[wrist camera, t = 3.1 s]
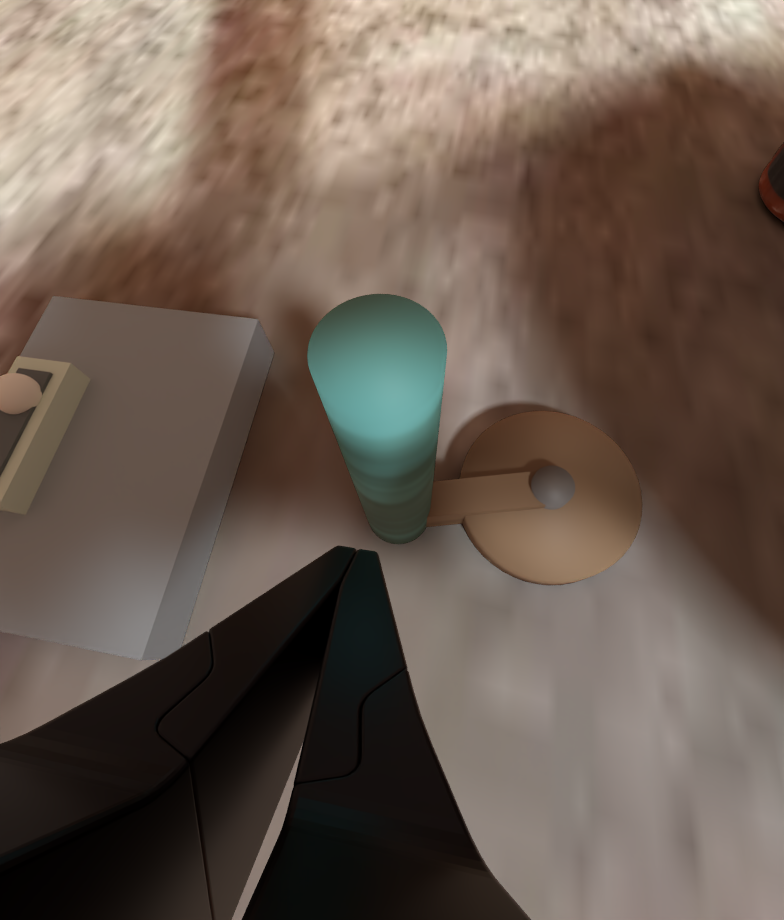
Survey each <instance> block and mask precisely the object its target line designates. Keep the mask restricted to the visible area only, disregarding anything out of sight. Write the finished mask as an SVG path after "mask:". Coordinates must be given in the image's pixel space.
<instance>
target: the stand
mask: <svg viewBox="0 0 784 920" xmlns="http://www.w3.org/2000/svg"><path fill="white" fill-rule="evenodd" d="M273 355H274V351H273V349H272V347H271V345H270V343H269V340H268V338H267V336H266V334H265V332H264V330H263V328H262V326H261V324H260V322H259V320H258V319H253V318H244V317H235V316H226V315H217V314H209V313H200V312H191V311H182V310H174V309H165V308H156V307H147V306H138V305H130V304H121V303H112V302H103V301H94V300H86V299H77V298H68V297H59V296H53V297H52V299H51V301H50V302H49V304H48V306H47V308H46V310H45V311H44V313H43V315H42V317H41V319H40V320H39V322H38V324H37V326H36V328H35V329H34V331H33V333H32V335H31V337H30V338H29V340H28V342H27V344H26V346H25V347H24V349H23V351H22V353H21V355H20V356H17V357H16V359H15V361H14V363H13V364H12V366H11V368H10V370H9V372H8V373H7V374H4V375H2V376H0V632H5V633H10V634H15V635H20V636H25V637H29V638H34V639H39V640H44V641H49V642H54V643H59V644H64V645H69V646H73V647H78V648H83V649H88V650H93V651H98V652H103V653H108V654H113V655H117V656H122V657H127V658H132V659H137V660H155V659H163V658H165V657H167V656H168V655H170V654H171V653H173V652H175V651H176V650H178V649H179V648H181V646H182V643H183V639H184V636H185V633H186V630H187V627H188V624H189V620H190V617H191V614H192V611H193V608H194V605H195V601H196V598H197V595H198V592H199V589H200V586H201V583H202V579H203V576H204V573H205V570H206V567H207V564H208V560H209V557H210V554H211V551H212V548H213V545H214V542H215V538H216V535H217V532H218V529H219V526H220V523H221V519H222V516H223V513H224V510H225V507H226V504H227V500H228V497H229V494H230V491H231V488H232V485H233V482H234V478H235V475H236V472H237V469H238V466H239V463H240V459H241V456H242V453H243V450H244V447H245V444H246V441H247V437H248V434H249V431H250V428H251V425H252V422H253V418H254V415H255V412H256V409H257V406H258V403H259V399H260V396H261V393H262V390H263V387H264V384H265V381H266V377H267V374H268V371H269V368H270V365H271V362H272V358H273Z"/></svg>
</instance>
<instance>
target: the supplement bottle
mask: <svg viewBox="0 0 784 920" xmlns="http://www.w3.org/2000/svg"><path fill="white" fill-rule="evenodd" d="M759 192H760V196H761V198H762V200H763V202H764V204H765V205H766V207H767V208H768V209H769V210H770V211H771V212H772V213H773V214H774V215H775V216H776V217H778V218H779V219H780V220H782V221H783V222H784V143H783V144H782V145H781V147H780V148H779V149H778V150H777V152H776V153H775V155H774V156H773V158H772V160H771V161H770V162H769V164H768V165H767V166H766V168H765V169H764V171H763V173H762V175H761V178H760V181H759Z"/></svg>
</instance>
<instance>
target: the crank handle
mask: <svg viewBox="0 0 784 920" xmlns="http://www.w3.org/2000/svg"><path fill="white" fill-rule="evenodd" d="M446 357H447V343H446V338H445V334H444V332H443V330H442V327H441V326H440V324H439V322H438V321H437V320H436V318H435V317H434V316H433V315H432V314H431V313H430V312H429V311H428V310H427V309H425V308H424V307H423V306H421V305H420V304H418V303H416V302H414V301H412V300H410V299H407V298H404V297H400V296H396V295H390V294H371V295H365V296H360V297H356V298H353V299H351V300H348V301H346V302H344V303H342V304H340V305H338V306H337V307H335V308H334V309H332V310H331V311H330V312H329V313H327V314H326V315H325V316H324V317H323V318H322V320H321V321H320V322H319V323H318V325H317V326H316V328H315V329H314V331H313V333H312V336H311V338H310V341H309V345H308V354H307V358H308V366H309V369H310V373H311V375H312V378H313V380H314V383H315V386H316V388H317V391H318V393H319V396H320V398H321V401H322V404H323V406H324V409H325V411H326V414H327V416H328V419H329V422H330V424H331V427H332V429H333V432H334V434H335V437H336V440H337V442H338V445H339V447H340V450H341V452H342V455H343V458H344V460H345V463H346V465H347V468H348V471H349V473H350V476H351V478H352V481H353V483H354V486H355V489H356V491H357V494H358V496H359V499H360V501H361V504H362V507H363V509H364V512H365V514H366V517H367V519H368V522H369V524H370V527H371V529H372V530H373V532H374V533H375V534H376V535H377V536H378V537H379V538H381V539H382V540H384V541H386V542H389V543H393V544H404V543H408V542H411V541H413V540H415V539H416V538H418V537H419V536H420V535H421V534H422V533H423V532H424V530H425V529H426V527H431V526H441V525H452V524H463V526H464V529H465V531H466V533H467V535H468V537H469V538H470V540H471V541H472V543H473V544H474V546H475V547H476V548H477V550H478V551H479V552H480V553H481V554H482V555H483V556H484V557H485V558H486V559H487V560H488V561H489V562H490V563H492V564H493V565H494V566H496V567H497V568H499V569H500V570H501V571H503V572H505V573H507V574H509V575H511V576H513V577H515V578H518V579H520V580H523V581H526V582H530V583H535V584H542V585H563V584H569V583H574V582H577V581H580V580H583V579H586V578H588V577H591V576H594V575H596V574H598V573H600V572H602V571H604V570H606V569H607V568H609V567H610V566H612V565H613V564H615V563H616V562H617V561H618V560H619V559H620V558H621V557H622V556H623V555H624V554H625V553H626V551H627V550H628V549H629V547H630V546H631V544H632V542H633V541H634V539H635V537H636V534H637V532H638V529H639V526H640V521H641V516H642V495H641V489H640V485H639V481H638V478H637V476H636V473H635V470H634V468H633V467H632V465H631V463H630V461H629V459H628V458H627V456H626V455H625V454H624V452H623V451H622V450H621V448H620V447H619V446H618V445H617V444H616V443H615V442H614V441H613V440H612V439H611V438H610V437H609V436H608V435H606V434H605V433H604V432H602V431H601V430H600V429H598V428H597V427H595V426H593V425H592V424H590V423H588V422H586V421H584V420H581V419H579V418H577V417H574V416H571V415H567V414H564V413H558V412H552V411H530V412H524V413H519V414H516V415H512V416H509V417H507V418H505V419H502V420H500V421H499V422H497V423H495V424H493V425H492V426H491V427H489V428H488V429H487V430H485V431H484V432H483V433H482V434H481V435H480V436H479V437H478V438H477V440H476V441H475V442H474V444H473V445H472V446H471V448H470V450H469V452H468V454H467V456H466V458H465V461H464V464H463V466H462V470H461V474H460V478H459V479H452V480H442V481H433V479H434V469H435V460H436V451H437V441H438V432H439V423H440V413H441V404H442V395H443V385H444V376H445V367H446Z"/></svg>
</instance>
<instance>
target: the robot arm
mask: <svg viewBox="0 0 784 920" xmlns="http://www.w3.org/2000/svg"><path fill="white" fill-rule="evenodd" d="M302 743H303V746H302ZM301 746H302V750H301V754H300V759H299V763H298V767H297V772H296V776H295V780H294V788H293V790H292V794H291V798H290V802H289V806H288V810H287V813H286V817H285V820H284V823H283V827H282V830H281V832H280V835H279V837H278V839H277V842H276V844H275V846H274V848H273V851H272V853H271V855H270V857H269V860H268V862H267V864H266V866H265V869H264V871H263V873H262V875H261V878H260V880H259V882H258V884H257V887H256V889H255V891H254V893H253V896H252V898H251V900H250V902H249V905H248V907H247V909H246V911H245V914H244V916H243V918H242V920H531V919H530V918H529V917H528V916H527V914H526V913H525V912H524V911H523V910H522V909H521V907H520V906H519V905H518V904H517V903H516V902H515V900H514V899H513V898H512V897H511V896H510V895H509V893H508V892H507V891H506V890H505V889H504V888H503V886H502V885H501V884H500V883H499V882H498V880H497V879H496V878H495V877H494V875H493V874H492V873H491V871H490V870H489V868H488V867H487V865H486V864H485V862H484V860H483V858H482V857H481V855H480V853H479V851H478V849H477V847H476V845H475V843H474V841H473V839H472V837H471V835H470V833H469V830H468V828H467V826H466V824H465V821H464V819H463V817H462V814H461V812H460V810H459V807H458V805H457V802H456V800H455V798H454V795H453V793H452V791H451V788H450V786H449V783H448V781H447V779H446V776H445V774H444V772H443V769H442V767H441V764H440V762H439V760H438V757H437V755H436V753H435V750H434V748H433V745H432V743H431V740H430V738H429V735H428V732H427V730H426V727H425V724H424V722H423V719H422V717H421V714H420V710H419V707H418V704H417V700H416V697H415V694H414V690H413V687H412V683H411V679H410V675H409V672H408V671H407V664H406V661H405V657H404V653H403V649H402V645H401V641H400V637H399V633H398V629H397V626H396V622H395V618H394V614H393V610H392V606H391V602H390V598H389V594H388V590H387V587H386V583H385V579H384V575H383V571H382V567H381V563H380V559H379V555H378V553H377V552H375V551H368V550H362V549H359V550H358V551H356V549H355V548H350V547H344V546H336V547H334V548H333V549H331V550H330V551H328V552H326V553H325V554H323V555H322V556H320V557H319V558H317V559H316V560H314V561H313V562H311V563H310V564H308V565H307V566H305V567H304V568H302V569H301V570H299V571H298V572H296V573H294V574H293V575H291V576H290V577H288V578H287V579H285V580H284V581H282V582H281V583H279V584H278V585H276V586H275V587H273V588H272V589H270V590H269V591H267V592H266V593H264V594H262V595H261V596H259V597H258V598H256V599H255V600H253V601H252V602H250V603H249V604H247V605H246V606H244V607H243V608H241V609H240V610H238V611H237V612H235V613H234V614H232V615H230V616H229V617H227V618H226V619H224V620H223V621H221V622H220V623H218V624H217V625H215V626H214V627H212V628H211V629H210V630H209V632H204V633H203V634H201V635H200V636H198V637H197V638H195V639H194V640H192V641H191V642H189V643H187V644H186V645H184V646H183V647H181V648H179V649H178V650H176V651H175V652H173V653H171V654H170V655H168V656H167V657H165V658H163V659H162V660H160V661H158V662H157V663H155V664H153V665H151V666H150V667H148V668H146V669H144V670H143V671H141V672H139V673H137V674H136V675H134V676H132V677H130V678H128V679H127V680H125V681H123V682H121V683H119V684H117V685H116V686H114V687H112V688H110V689H108V690H106V691H105V692H103V693H101V694H99V695H97V696H95V697H94V698H92V699H90V700H88V701H86V702H84V703H82V704H81V705H79V706H77V707H75V708H73V709H71V710H70V711H68V712H66V713H64V714H62V715H60V716H59V717H57V718H55V719H53V720H51V721H49V722H47V723H46V724H44V725H42V726H40V727H38V728H36V729H34V730H32V731H30V732H28V733H26V734H24V735H22V736H19V737H17V738H14V739H12V740H10V741H7V742H4V743H1V744H0V920H232V917H233V915H234V912H235V910H236V907H237V905H238V902H239V900H240V897H241V895H242V892H243V890H244V887H245V885H246V882H247V880H248V877H249V875H250V872H251V870H252V867H253V865H254V862H255V860H256V857H257V855H258V853H259V850H260V848H261V845H262V843H263V840H264V838H265V835H266V833H267V830H268V828H269V825H270V823H271V820H272V818H273V815H274V813H275V810H276V808H277V805H278V803H279V800H280V798H281V795H282V793H283V790H284V788H285V785H286V783H287V780H288V778H289V775H290V773H291V770H292V768H293V765H294V763H295V760H296V758H297V755H298V753H299V750H300V748H301Z"/></svg>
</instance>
